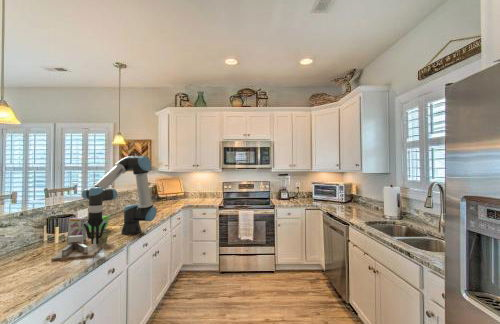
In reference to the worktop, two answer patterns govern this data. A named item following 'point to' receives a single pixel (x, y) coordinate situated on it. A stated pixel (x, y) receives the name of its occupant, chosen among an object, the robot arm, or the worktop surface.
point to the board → (75, 253)
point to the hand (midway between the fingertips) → (94, 249)
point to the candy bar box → (76, 227)
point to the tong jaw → (82, 248)
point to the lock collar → (75, 239)
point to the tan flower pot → (104, 236)
